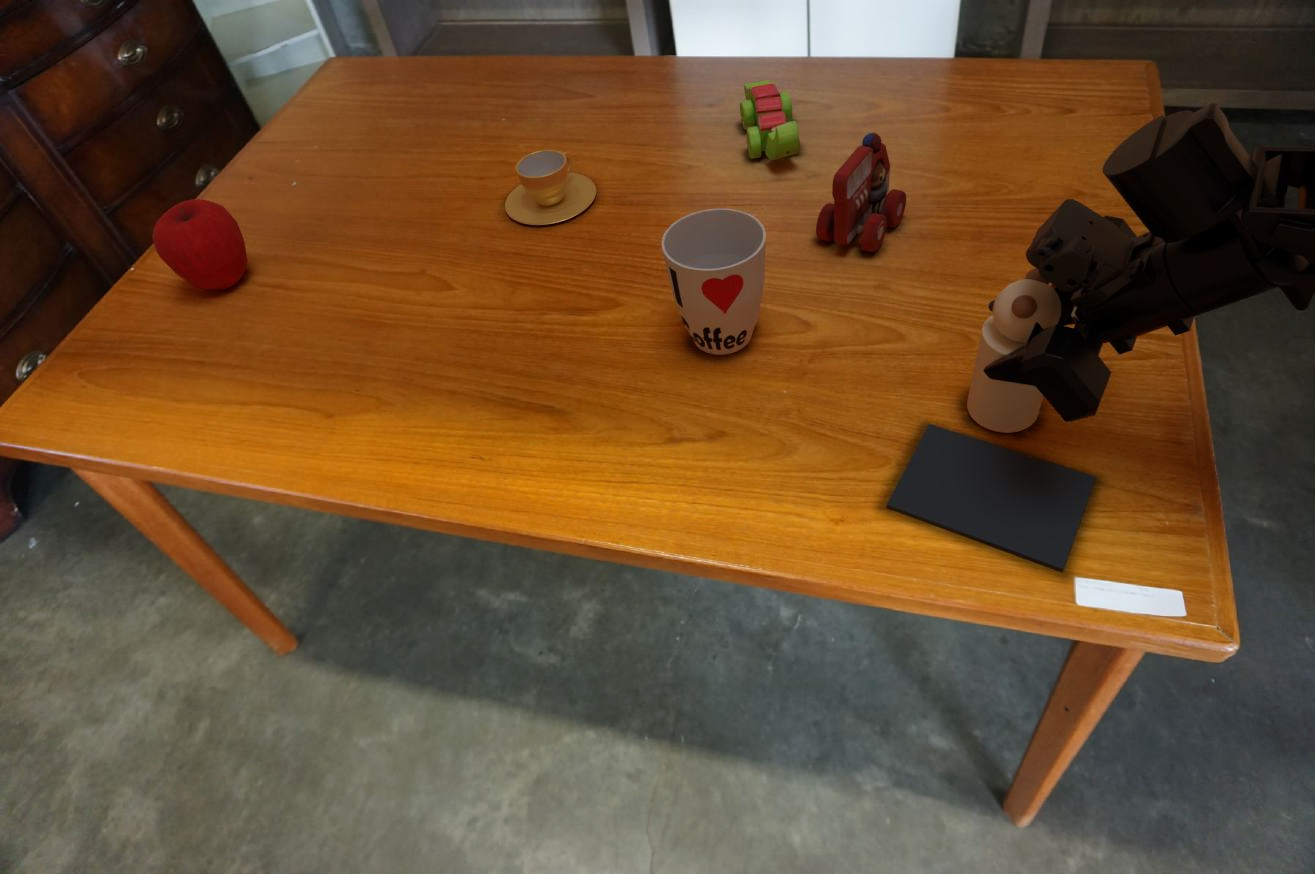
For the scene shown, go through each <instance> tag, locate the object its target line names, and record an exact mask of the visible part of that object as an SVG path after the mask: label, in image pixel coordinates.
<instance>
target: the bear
mask: <svg viewBox="0 0 1315 874" xmlns="http://www.w3.org/2000/svg"><path fill="white" fill-rule="evenodd" d="M988 310H989V311H990V312H991V313H992V315H991V316H989V317H988V318H987V319H986V320H985V321H984V323H983V324H982V327H981V331H980V332H981V333H980V337H979V342H978V346H977V351H976V356H975V361H974V365H973V371H972V376H971V380H970V386H969V390H968V396H967V401H966V409H967V412H968V414H969V416H970V417H971V419H972V420H973V421H974V422H975V423H977V424H978V425H979V426H981V427H983V428H985V429H986V430H989V431H993V432H997V433H1005V434H1010V433H1017V432H1020V431H1024V430H1026V429H1028V428H1029V427H1031V426H1032V425H1033V424H1035V422H1036V421H1037V419H1038V416H1039V413H1040V409H1041V406H1042V404H1043V403H1042V402H1043V399H1044V396H1043V395H1042V394H1041V392H1040V391H1039V390H1038V389H1037V388H1036V386H1031V385H1025V384H1019V383H1012V382H1005V381H999V380H992V379H990V378H989V377H988V376H987V375H986V374H985V373H984V371H983V370H984V368H985V367H986V366H987V365H989V364H991V363H992V362H994V361H996V360H997V359H999V358H1001V357H1003V356H1005V355H1007V354H1008V353H1010V352H1012V351H1014V350H1016V349H1018V348H1020V347H1022V346H1023V345H1025V344H1026V342H1027V340H1028V338H1029V336H1030V334H1031V331H1032V329H1033V327H1034V325H1035V323H1036V322H1038V323H1039V324H1040V325H1041V327H1042V328H1043V329H1046V328H1048V327H1051V326H1053V325H1056V324H1057V323H1058V321H1059V319H1060V315H1061V302H1060V299H1059V296H1058V295H1057V293H1056V291H1055V290H1054V289H1053V288H1052V287H1051V285H1050V282H1048V281H1046V280H1045V279H1043V278H1042V277H1040V275H1039V272H1038V269H1037V268H1035V267H1034V268H1032V269H1030V270H1029V271H1028V272H1027V273H1026V275H1025V278H1022V279H1019V280H1016V281H1013V282H1011V283H1009V284H1008V285H1006V286H1005V287H1003V289H1002V290H1000V292H999V293H998V294H997V296H996V297H995V299H993V300H991V301H990V302H989V303H988Z"/></svg>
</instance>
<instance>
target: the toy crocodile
mask: <svg viewBox="0 0 1315 874" xmlns="http://www.w3.org/2000/svg"><path fill="white" fill-rule="evenodd" d="M743 89H744V95H745V100H742V101H740V103H739V113H740V120H741V124H742V128H743V129H744V130H745V131H746V144H747V145H746V146H747V151H748V156H749V159H750V160H751V159H753V160H754V159H758V158H761V157H762V152H765V156H766V157H767V158H768V159H769V160H770V161H775V160H779V159H783V158H786V157H791V156H793V155H797V154H799V153H800V152H801V142H800V141H801V140H800V134H799V133H800V132H799V129H798V128H799V127H798V123H797V121H795V120H793V106H792V100H791V99H792V98H791V95H790V92H788V91H784V92H783V91H782V92H780V91H779V89H778V87H777V85H776V83H775V81H770V80H769V79H766V80H760V81H756V82H750V83H745V84H744V85H743ZM741 117H742V118H741ZM791 118H792V119H791ZM787 119H788V120H787ZM742 120H743V121H742ZM743 122H744V123H743ZM753 125H754V126H753ZM745 126H746V127H747V128H746V127H745ZM748 126H749V127H748ZM750 126H752V127H750Z"/></svg>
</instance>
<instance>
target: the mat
mask: <svg viewBox="0 0 1315 874" xmlns="http://www.w3.org/2000/svg"><path fill="white" fill-rule="evenodd" d="M1096 480H1097V476H1095V475H1091V474H1089V473H1085V472H1082V471H1079V470H1076V469H1073V468H1070V467H1067V466H1064V465H1060V464H1057V463H1054V462H1051V461H1048V460H1045V459H1042V458H1038V457H1035V456H1031V455H1029V454H1026V453H1022V452H1020V451H1016V450H1013V449H1009V448H1006V447H1004V446H1001V445H997V444H994V443H991V442H987V441H984V440H982V439H979V438H975V437H972V436H968V435H966V434H962V433H959V432H956V431H953V430H950V429H946V428H943V427H941V426H937V425H935V424H930V423H929V424H928V425H927V427H926V429H925V431H924V432H923V434H922V436H921V438H920V440H919V442H918V444H917V446H916V448H915V450H914V452H913V454H912V455H911V457H910V459H909V461H908V463H907V465H906V466H905V469H904V471H903V472H902V474H901V476H900V478H899V481H898V482H897V484H896V486H895V488H894V490H893V492H892V494H891V495H890V498H889V500H888V501H887V503H886V508H888V509H890V510H894V511H896V512H899V513H901V514H904V515H906V516H909V517H912V518H915V519H917V520H921V521H923V522H926V523H928V524H931V525H934V526H937V527H939V528H942V529H945V530H947V531H950V532H953V533H956V534H959V535H961V536H964V537H966V538H970V539H972V540H975V541H978V542H980V543H983V544H986V545H988V546H990V547H994V548H996V549H1000V550H1002V551H1005V552H1007V553H1010V554H1013V555H1015V556H1018V557H1021V558H1024V559H1026V560H1028V561H1032V562H1034V563H1037V564H1040V565H1043V566H1045V567H1048V568H1051V569H1053V570H1056V571H1059V572H1062V573H1063V572H1064V570H1065V567H1066V565H1067V562H1068V559H1069V556H1070V553H1071V551H1072V547H1073V545H1074V542H1075V539H1076V536H1077V533H1078V530H1079V528H1080V525H1081V522H1082V519H1083V517H1084V514H1085V511H1086V508H1087V505H1088V502H1089V500H1090V496H1091V493H1092V491H1093V488H1094V485H1095V482H1096Z"/></svg>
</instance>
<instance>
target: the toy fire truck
mask: <svg viewBox="0 0 1315 874" xmlns="http://www.w3.org/2000/svg"><path fill="white" fill-rule="evenodd" d="M890 174H891V162H890V158H889V154H888V149H887V146H886V144H885V143H882V139H881V136H880V135H879V133H876V132H869V133H867V134H866V135H864V136H863V138H862V141H861V145H859V146H857V148H856V149H854V151H853V152H852V153H851V154H850V156H849V157H848V158H847V159H846V160H845V162H844V163H843V164H842V165H841V166H840V167H839V168H838V169H837V171H836V172H835V173H834V175H833V179H832V191H831V192H832V193H831V194H832V198H833V203H832V202H827V203H826V204H824V205H823V207H822V208H821V209H820V212H819V214H818V216H817V221H816V227H815V233H816V237H817V238H818V239H819V240H821V241H826V242H831V241H834V243H835V244H841V245H849V244H850V243H851V242H852V241H853V240H854V239H855V240H856V239H857V238H858V237H859V235H861V236H860V241H859V242H860V243H859V244H860V248H861V249H862V250H863V251H865V252H869V253H875V252H877V251H878V250H879V249H880V248H881V245H882V244H883V241H884V240H885V235H886V232H887V227H888V228H896V227H897V226H899V224H900V222H901V220H902V219H903V217H904V213H905V210H906V206H907V193H906V192H905V191H903V190H899V189H895V188H893V189H891V190H890V176H891V175H890Z"/></svg>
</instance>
